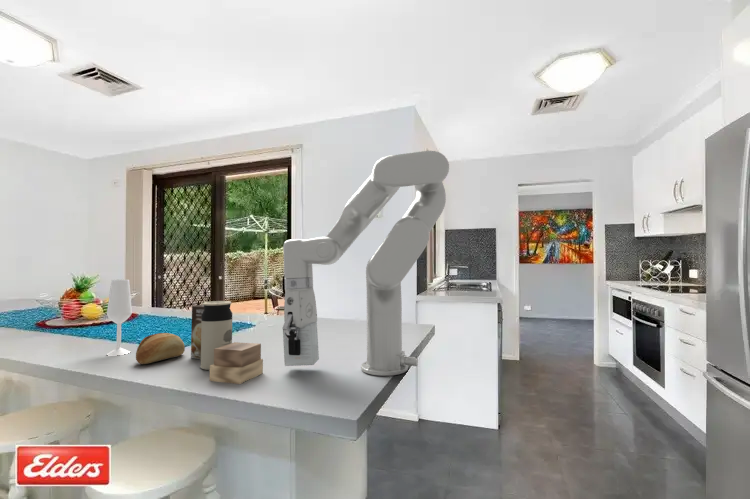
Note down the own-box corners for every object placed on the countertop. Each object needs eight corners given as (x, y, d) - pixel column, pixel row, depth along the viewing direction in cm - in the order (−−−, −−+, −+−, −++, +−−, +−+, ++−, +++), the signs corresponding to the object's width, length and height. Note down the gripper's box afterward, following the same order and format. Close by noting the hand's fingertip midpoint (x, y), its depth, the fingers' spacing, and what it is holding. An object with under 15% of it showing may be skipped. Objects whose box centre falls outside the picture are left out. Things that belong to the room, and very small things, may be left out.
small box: (319, 359, 98) (317, 321, 98) (313, 365, 92) (312, 324, 92) (291, 360, 98) (289, 322, 99) (283, 366, 93) (282, 325, 93)
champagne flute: (125, 355, 113) (127, 280, 114) (101, 356, 111) (103, 280, 113) (134, 350, 119) (136, 279, 120) (112, 351, 118) (114, 279, 119)
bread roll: (124, 365, 101) (125, 337, 102) (168, 353, 116) (168, 328, 116) (150, 368, 99) (151, 339, 99) (192, 355, 113) (192, 330, 114)
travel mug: (194, 368, 98) (195, 303, 99) (218, 361, 105) (219, 300, 106) (214, 372, 94) (215, 304, 95) (237, 364, 101) (238, 301, 102)
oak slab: (262, 374, 93) (262, 359, 93) (240, 385, 85) (240, 368, 85) (234, 371, 96) (234, 356, 96) (209, 382, 87) (209, 365, 87)
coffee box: (189, 358, 109) (190, 305, 109) (205, 353, 115) (206, 303, 116) (213, 360, 106) (213, 306, 106) (228, 355, 112) (229, 304, 113)
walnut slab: (260, 359, 93) (260, 343, 94) (241, 367, 86) (241, 350, 86) (234, 357, 95) (234, 342, 96) (213, 365, 88) (214, 348, 88)
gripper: (294, 286, 87) (297, 360, 86) (325, 282, 103) (328, 344, 102) (268, 287, 89) (270, 359, 88) (302, 283, 105) (305, 344, 105)
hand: (301, 350), depth 95 cm, fingers closed on small box, 6 cm apart
